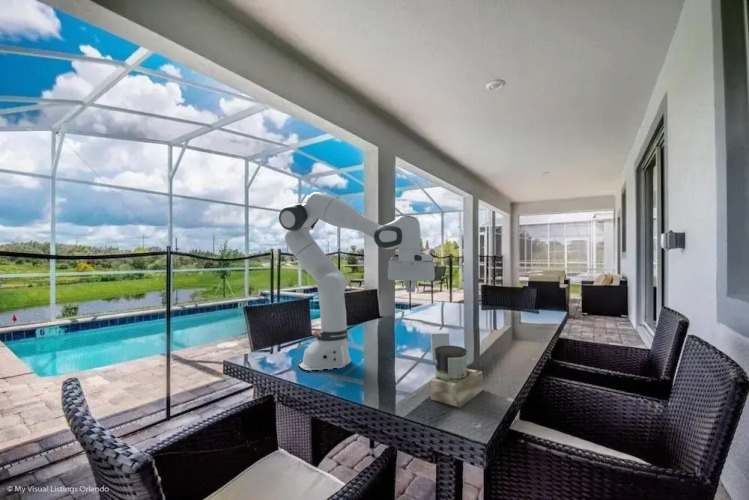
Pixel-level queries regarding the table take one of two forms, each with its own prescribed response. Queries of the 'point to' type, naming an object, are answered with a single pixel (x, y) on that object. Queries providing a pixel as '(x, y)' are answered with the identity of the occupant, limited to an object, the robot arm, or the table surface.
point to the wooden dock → (457, 389)
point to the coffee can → (450, 363)
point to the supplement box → (438, 340)
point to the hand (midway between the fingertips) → (410, 292)
